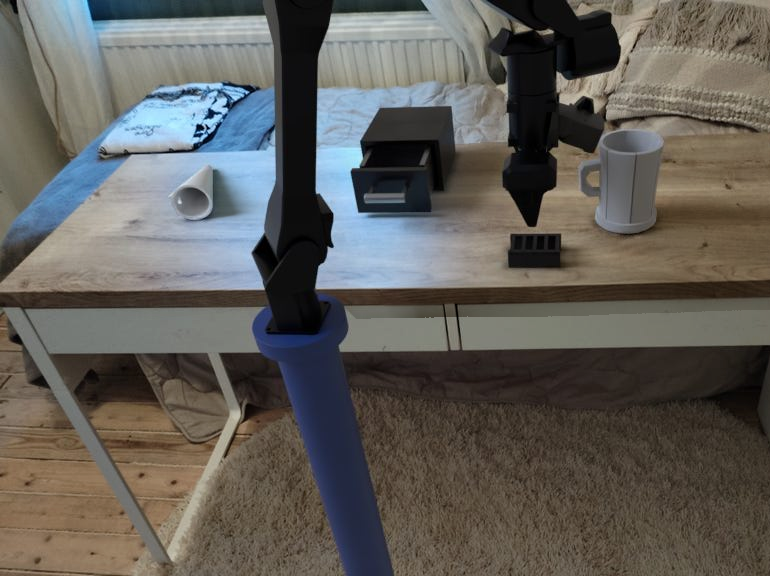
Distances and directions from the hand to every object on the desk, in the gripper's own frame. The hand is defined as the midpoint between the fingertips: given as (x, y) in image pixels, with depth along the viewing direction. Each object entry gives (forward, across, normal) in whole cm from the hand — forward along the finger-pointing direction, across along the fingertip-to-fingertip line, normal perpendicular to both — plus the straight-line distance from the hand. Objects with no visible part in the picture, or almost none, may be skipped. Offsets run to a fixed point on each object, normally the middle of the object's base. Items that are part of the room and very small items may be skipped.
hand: (533, 209), depth 92 cm
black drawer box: (+7, +28, +22) cm, 36 cm away
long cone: (+8, +21, +56) cm, 60 cm away
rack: (+7, 0, 0) cm, 7 cm away
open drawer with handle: (+7, +16, +22) cm, 28 cm away
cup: (+8, +10, -12) cm, 17 cm away
